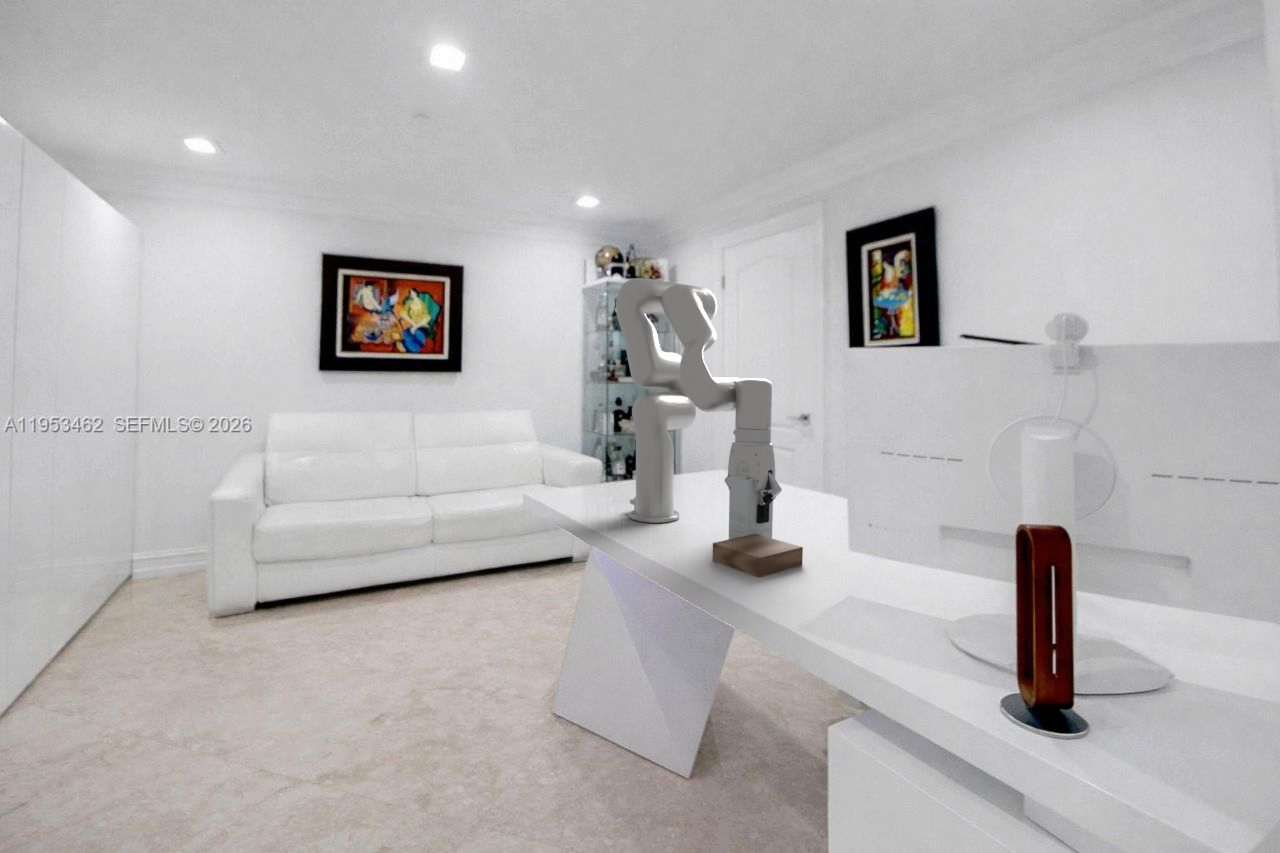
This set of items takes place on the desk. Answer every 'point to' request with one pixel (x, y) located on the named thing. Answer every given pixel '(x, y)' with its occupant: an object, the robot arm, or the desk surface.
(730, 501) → the skincare box
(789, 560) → the walnut block
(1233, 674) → the desk surface
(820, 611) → the desk surface
